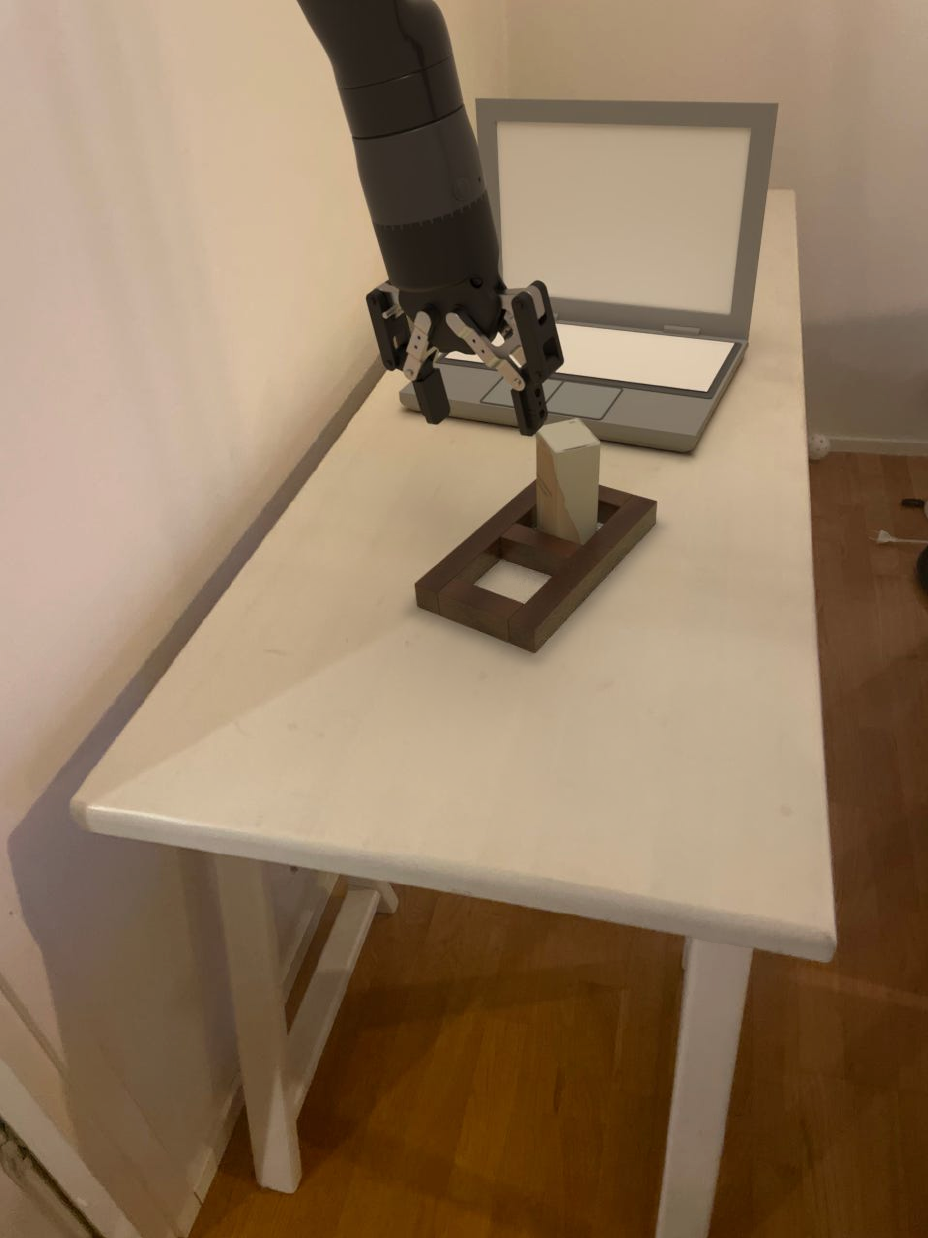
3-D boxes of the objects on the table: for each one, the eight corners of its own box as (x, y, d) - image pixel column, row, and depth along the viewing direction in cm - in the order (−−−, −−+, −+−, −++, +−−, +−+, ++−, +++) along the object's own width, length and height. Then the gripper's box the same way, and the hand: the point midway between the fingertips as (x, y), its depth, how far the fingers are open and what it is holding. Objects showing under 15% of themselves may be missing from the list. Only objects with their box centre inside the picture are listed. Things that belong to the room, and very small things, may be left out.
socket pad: (656, 523, 90) (657, 500, 88) (535, 653, 76) (534, 629, 75) (546, 490, 96) (546, 469, 94) (416, 606, 82) (413, 583, 81)
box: (535, 528, 90) (533, 424, 83) (577, 518, 91) (578, 414, 84) (556, 557, 86) (555, 451, 79) (599, 547, 87) (602, 440, 80)
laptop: (401, 412, 111) (370, 152, 93) (491, 327, 129) (479, 96, 112) (693, 458, 99) (721, 167, 81) (747, 356, 117) (780, 100, 99)
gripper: (553, 168, 57) (594, 408, 67) (379, 180, 65) (439, 392, 75) (485, 216, 53) (539, 464, 63) (308, 222, 61) (381, 440, 71)
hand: (484, 424), depth 69 cm, fingers open, 8 cm apart
